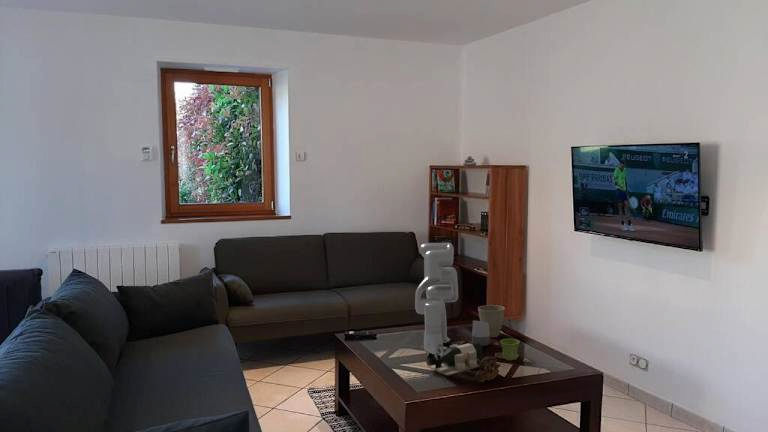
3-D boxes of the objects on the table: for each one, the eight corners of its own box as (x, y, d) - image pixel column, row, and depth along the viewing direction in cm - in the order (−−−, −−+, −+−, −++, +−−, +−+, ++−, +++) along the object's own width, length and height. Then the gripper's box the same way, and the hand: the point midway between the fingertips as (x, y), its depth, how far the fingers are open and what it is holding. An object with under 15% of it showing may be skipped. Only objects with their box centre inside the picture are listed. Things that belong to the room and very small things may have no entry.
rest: (426, 366, 282) (426, 351, 282) (459, 358, 292) (459, 343, 292) (446, 375, 269) (445, 359, 268) (480, 366, 278) (479, 351, 278)
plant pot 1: (508, 338, 321) (507, 310, 320) (481, 340, 321) (480, 311, 320) (502, 331, 336) (501, 304, 334) (477, 332, 336) (476, 305, 335)
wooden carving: (484, 386, 253) (483, 364, 252) (475, 384, 256) (474, 362, 255) (502, 375, 265) (502, 354, 265) (493, 373, 268) (493, 352, 268)
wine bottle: (474, 338, 290) (424, 350, 274) (484, 348, 283) (434, 360, 268) (470, 351, 293) (421, 364, 278) (480, 361, 286) (431, 375, 271)
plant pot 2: (521, 356, 290) (521, 339, 289) (517, 362, 282) (517, 345, 281) (503, 354, 294) (502, 338, 293) (498, 360, 285) (498, 343, 285)
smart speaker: (493, 344, 312) (492, 318, 311) (484, 348, 305) (483, 322, 304) (478, 341, 318) (477, 316, 317) (469, 345, 312) (468, 320, 311)
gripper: (416, 326, 279) (418, 363, 280) (437, 333, 264) (438, 372, 266) (429, 323, 283) (431, 359, 284) (450, 330, 268) (452, 369, 269)
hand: (434, 365), depth 275 cm, fingers open, 5 cm apart
